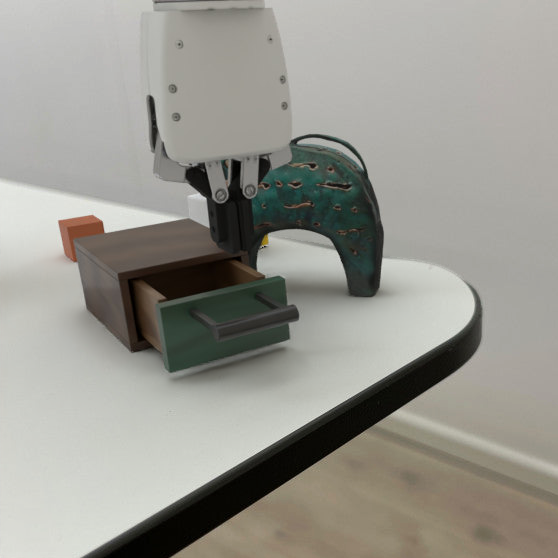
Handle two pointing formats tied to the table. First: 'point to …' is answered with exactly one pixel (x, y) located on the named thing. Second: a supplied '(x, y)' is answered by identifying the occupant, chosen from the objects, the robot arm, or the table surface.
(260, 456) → the table surface
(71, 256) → the block
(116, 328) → the cabinet
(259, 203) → the ceramic cat
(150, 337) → the drawer
